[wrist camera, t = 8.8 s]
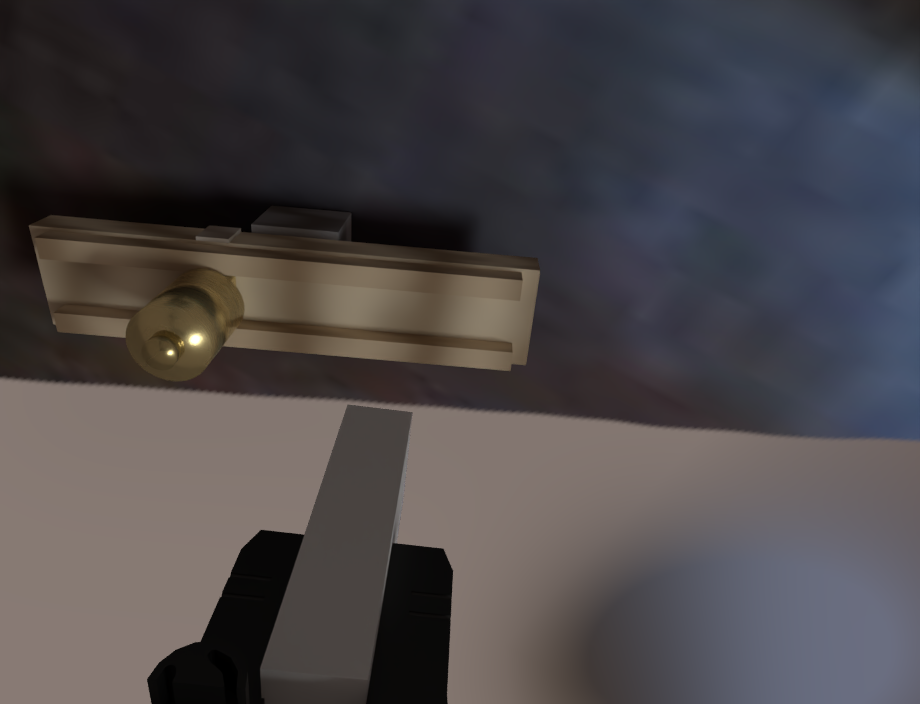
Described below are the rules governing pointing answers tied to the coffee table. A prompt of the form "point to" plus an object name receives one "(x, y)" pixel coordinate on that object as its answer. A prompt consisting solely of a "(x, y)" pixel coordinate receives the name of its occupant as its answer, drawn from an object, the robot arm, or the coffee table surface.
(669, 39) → the coffee table surface
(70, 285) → the stand
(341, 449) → the robot arm
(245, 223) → the coffee table surface
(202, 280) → the rider
